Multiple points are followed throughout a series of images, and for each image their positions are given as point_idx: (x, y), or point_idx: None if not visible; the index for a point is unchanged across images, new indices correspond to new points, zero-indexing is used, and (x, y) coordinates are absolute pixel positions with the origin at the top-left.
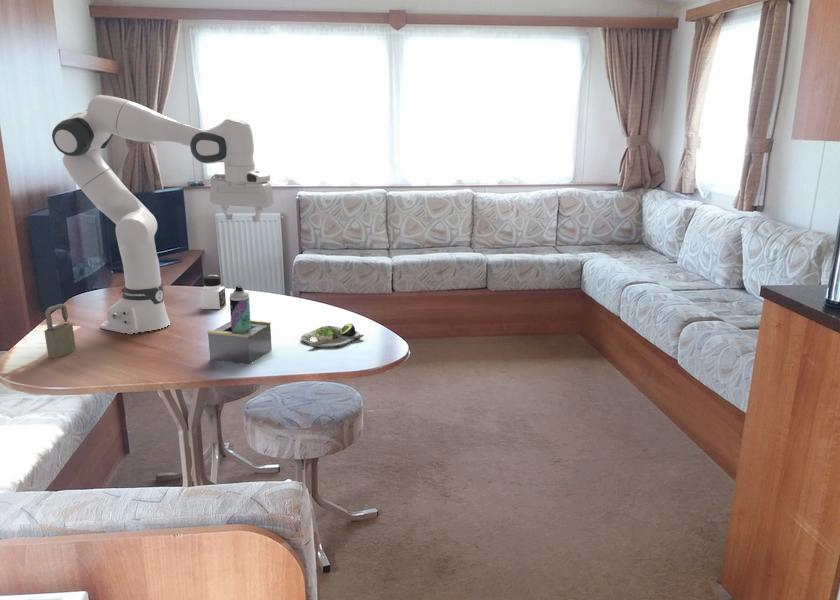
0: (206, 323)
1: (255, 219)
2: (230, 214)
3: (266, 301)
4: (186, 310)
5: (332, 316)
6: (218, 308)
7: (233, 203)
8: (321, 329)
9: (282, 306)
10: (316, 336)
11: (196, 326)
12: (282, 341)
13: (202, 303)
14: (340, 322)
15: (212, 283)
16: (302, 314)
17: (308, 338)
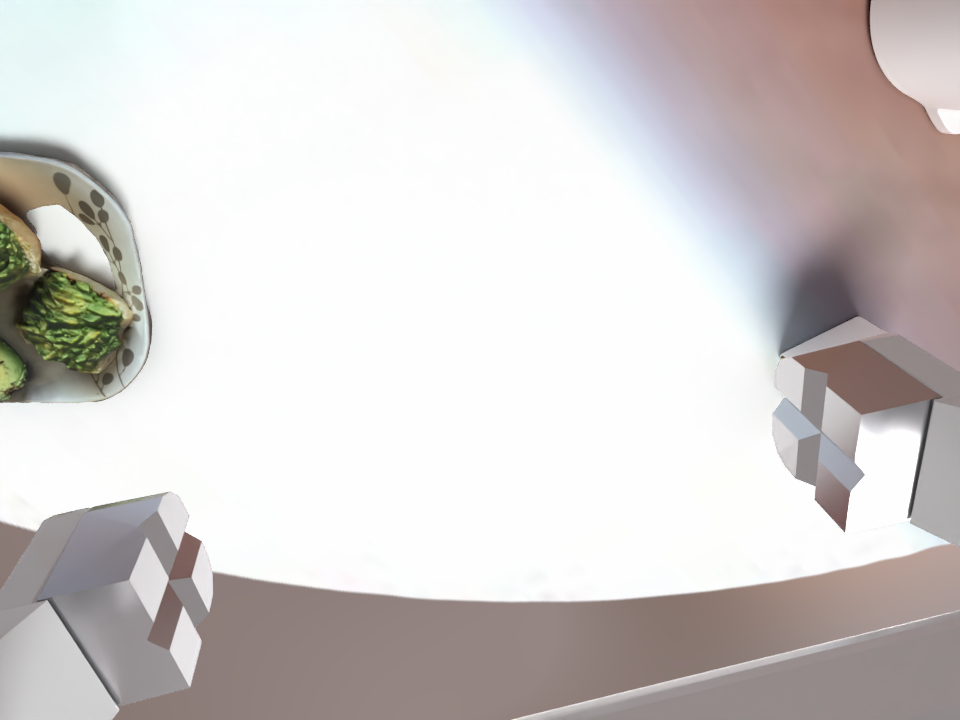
0: (723, 171)
1: (57, 536)
2: (856, 469)
3: (664, 526)
4: (917, 275)
5: (274, 521)
6: (789, 352)
7: (900, 713)
8: (75, 309)
9: (561, 513)
10: (15, 219)
11: (741, 108)
12: (185, 131)
13: (871, 329)
14: (177, 481)
15: None
16: (410, 479)
17: (93, 222)
